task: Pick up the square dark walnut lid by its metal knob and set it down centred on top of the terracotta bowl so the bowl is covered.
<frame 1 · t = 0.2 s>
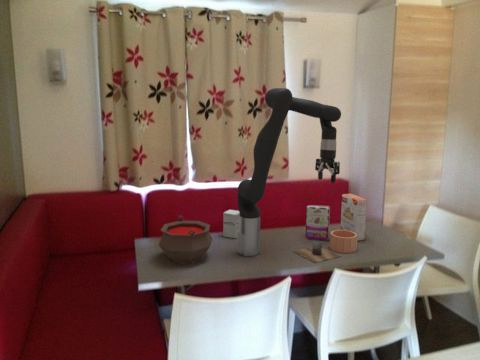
hand: (326, 181, 205), 29 cm above the table, tool pointing down, fingers open, 8 cm apart
brown cooking pot: (186, 257, 183), on the table
candy bar box: (317, 238, 209), on the table
walnut lid: (316, 255, 187), on the table
supplement box: (232, 236, 212), on the table
terracotta bowl: (342, 248, 195), on the table
cracker box: (351, 236, 212), on the table
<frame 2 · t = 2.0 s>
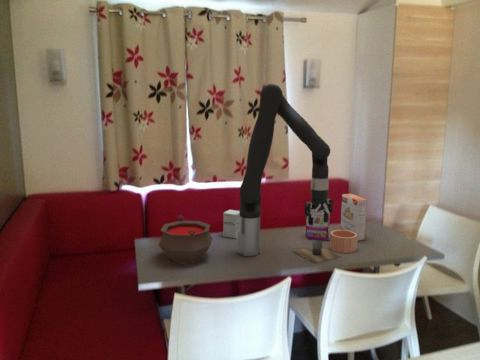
hand: (318, 223, 184), 14 cm above the table, tool pointing down, fingers open, 8 cm apart
nothing on the table moved.
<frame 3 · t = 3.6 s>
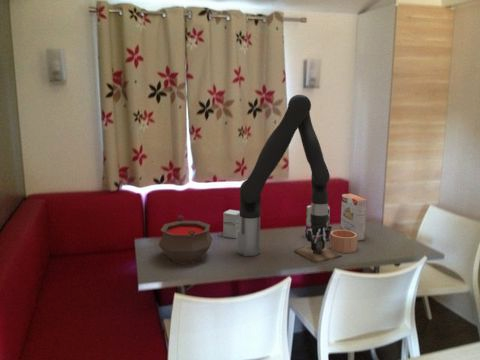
hand: (317, 249, 187), 2 cm above the table, tool pointing down, fingers closed on walnut lid, 4 cm apart
walnut lid: (317, 254, 187), on the table, touching gripper
everything else where it was.
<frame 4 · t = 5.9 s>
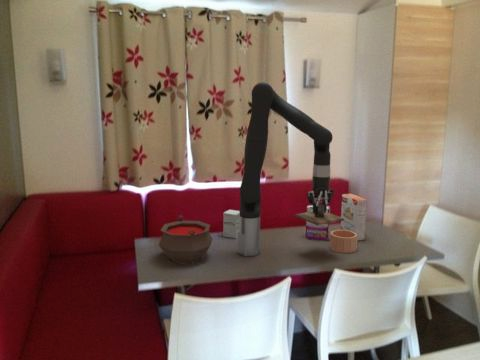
hand: (319, 212, 184), 19 cm above the table, tool pointing down, fingers closed on walnut lid, 4 cm apart
walnut lid: (319, 218, 184), point 17 cm above the table, touching gripper
everything else where it was.
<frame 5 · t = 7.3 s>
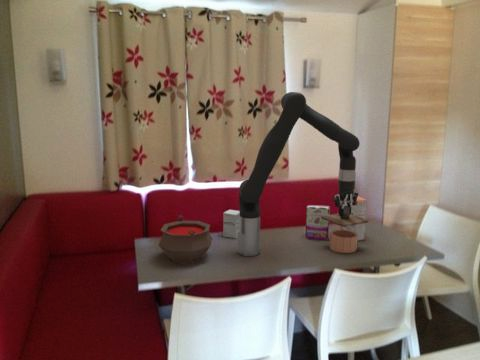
hand: (344, 215, 192), 16 cm above the table, tool pointing down, fingers closed on walnut lid, 4 cm apart
walnut lid: (344, 220, 193), point 14 cm above the table, touching gripper
everything else where it was.
when the fingers open (11 cm above the table, at t = 8.4 s): walnut lid drops 1 cm, resting on terracotta bowl.
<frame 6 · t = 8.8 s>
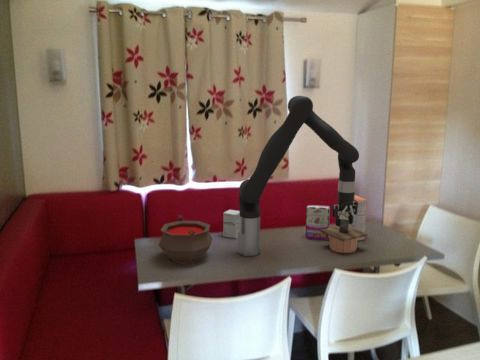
hand: (344, 224, 193), 11 cm above the table, tool pointing down, fingers open, 7 cm apart
walnut lid: (343, 233, 194), point 7 cm above the table, touching terracotta bowl
terracotta bowl: (342, 248, 195), on the table, touching walnut lid
everything else where it was.
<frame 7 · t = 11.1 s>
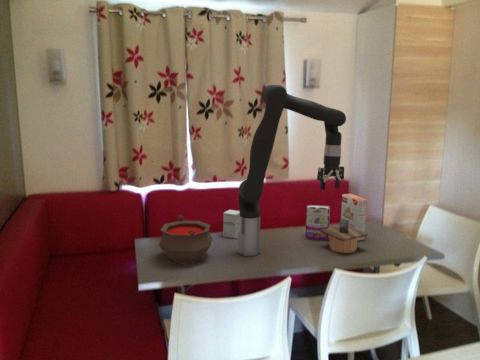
hand: (329, 189, 194), 27 cm above the table, tool pointing down, fingers open, 8 cm apart
nothing on the table moved.
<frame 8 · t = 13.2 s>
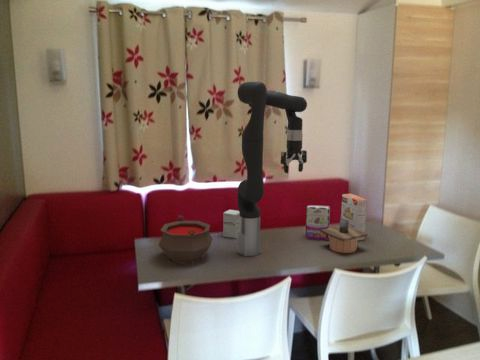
hand: (293, 172, 204), 33 cm above the table, tool pointing down, fingers open, 8 cm apart
nothing on the table moved.
at the end: walnut lid 0.1 cm off-centre on the terracotta bowl, point 7.0 cm above the terracotta bowl's base; walnut lid tilted 0°; the gripper is holding nothing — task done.
